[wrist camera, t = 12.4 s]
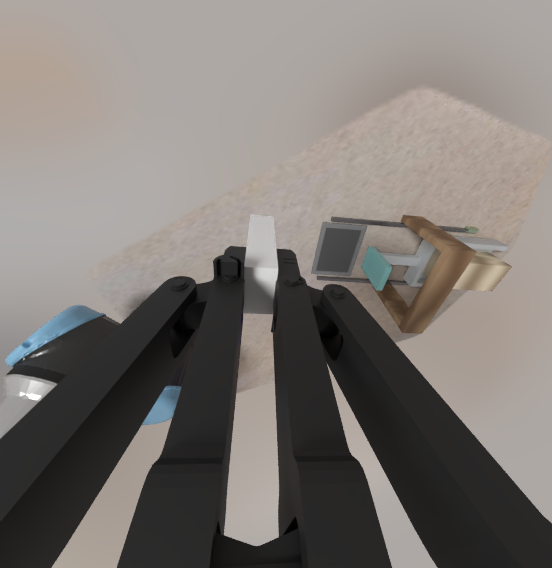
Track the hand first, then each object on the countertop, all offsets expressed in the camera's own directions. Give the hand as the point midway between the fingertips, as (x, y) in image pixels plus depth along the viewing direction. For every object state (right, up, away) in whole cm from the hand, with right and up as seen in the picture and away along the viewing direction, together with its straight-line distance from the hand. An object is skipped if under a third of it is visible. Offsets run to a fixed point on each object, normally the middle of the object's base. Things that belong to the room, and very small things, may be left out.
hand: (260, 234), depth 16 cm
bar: (+40, +1, +35) cm, 53 cm away
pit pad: (+14, +4, +33) cm, 36 cm away
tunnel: (+27, +3, +35) cm, 44 cm away
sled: (+33, +2, +35) cm, 48 cm away
